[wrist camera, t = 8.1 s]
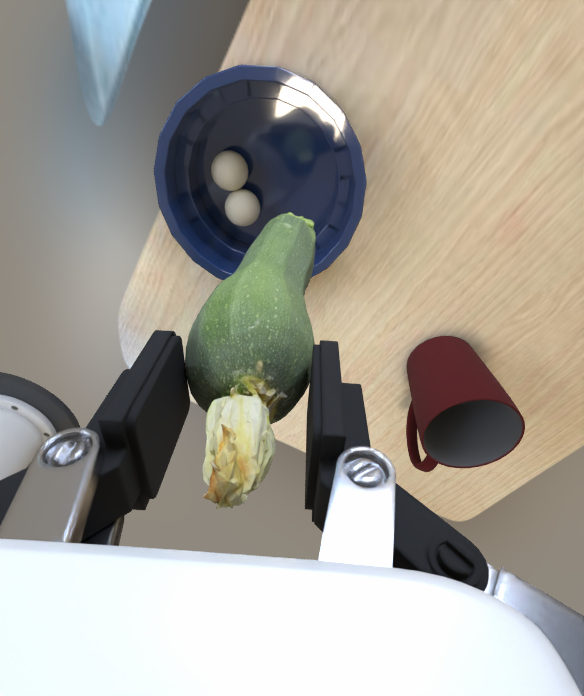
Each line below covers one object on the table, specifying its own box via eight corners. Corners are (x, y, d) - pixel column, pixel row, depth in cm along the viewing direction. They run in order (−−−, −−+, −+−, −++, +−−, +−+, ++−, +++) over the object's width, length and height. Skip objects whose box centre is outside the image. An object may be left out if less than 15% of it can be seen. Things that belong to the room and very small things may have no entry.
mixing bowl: (188, 257, 39) (169, 283, 34) (166, 62, 30) (137, 59, 25) (346, 266, 39) (350, 294, 34) (371, 73, 30) (382, 71, 25)
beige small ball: (261, 170, 32) (246, 190, 34) (239, 137, 31) (225, 161, 34) (235, 182, 30) (220, 203, 33) (211, 148, 30) (198, 172, 32)
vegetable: (295, 275, 26) (250, 604, 10) (236, 243, 25) (76, 548, 9) (331, 217, 24) (352, 518, 8) (268, 179, 23) (133, 430, 7)
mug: (429, 419, 49) (455, 496, 40) (369, 393, 48) (382, 467, 38) (498, 350, 43) (547, 422, 34) (433, 316, 41) (466, 383, 32)
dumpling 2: (233, 237, 34) (228, 213, 32) (223, 212, 35) (217, 186, 33) (266, 227, 35) (263, 202, 32) (255, 203, 36) (252, 177, 33)
